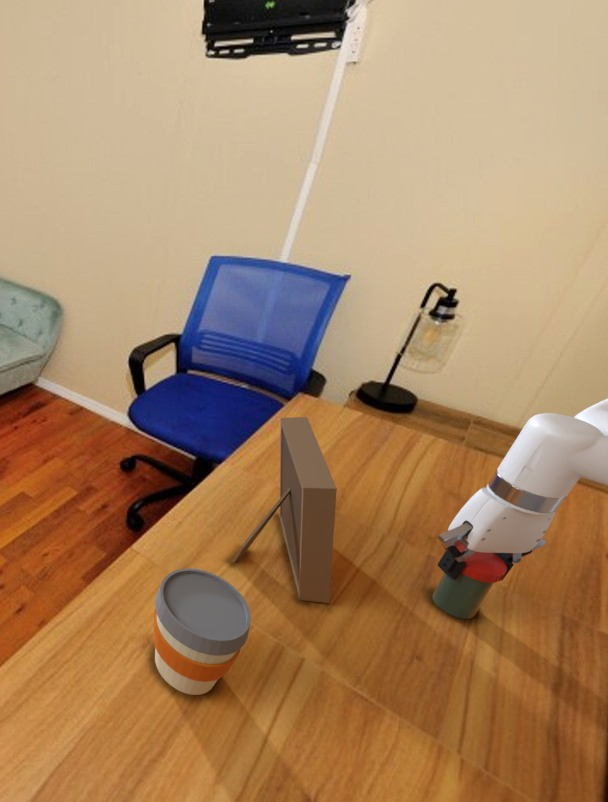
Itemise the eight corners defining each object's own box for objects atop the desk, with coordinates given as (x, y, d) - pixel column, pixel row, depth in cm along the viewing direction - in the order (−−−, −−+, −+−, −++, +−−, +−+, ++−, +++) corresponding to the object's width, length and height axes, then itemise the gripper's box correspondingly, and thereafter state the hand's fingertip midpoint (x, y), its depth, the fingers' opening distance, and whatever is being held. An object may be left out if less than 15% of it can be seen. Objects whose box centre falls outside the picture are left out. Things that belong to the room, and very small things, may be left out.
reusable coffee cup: (134, 628, 85) (147, 566, 78) (209, 630, 84) (229, 567, 77) (156, 706, 74) (174, 642, 67) (243, 708, 73) (270, 643, 66)
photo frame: (302, 521, 106) (341, 422, 94) (327, 606, 88) (380, 496, 76) (225, 505, 111) (253, 409, 99) (234, 583, 93) (270, 476, 81)
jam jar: (470, 599, 89) (495, 555, 84) (478, 624, 84) (505, 579, 80) (429, 586, 91) (451, 543, 86) (435, 610, 87) (458, 566, 82)
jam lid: (443, 545, 88) (447, 537, 87) (496, 560, 84) (501, 551, 84) (451, 573, 83) (455, 564, 82) (507, 589, 79) (512, 581, 79)
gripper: (558, 475, 79) (501, 556, 87) (445, 474, 79) (399, 554, 88) (611, 509, 72) (543, 593, 81) (487, 507, 73) (433, 591, 81)
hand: (469, 572), depth 84 cm, fingers closed on jam lid, 6 cm apart
